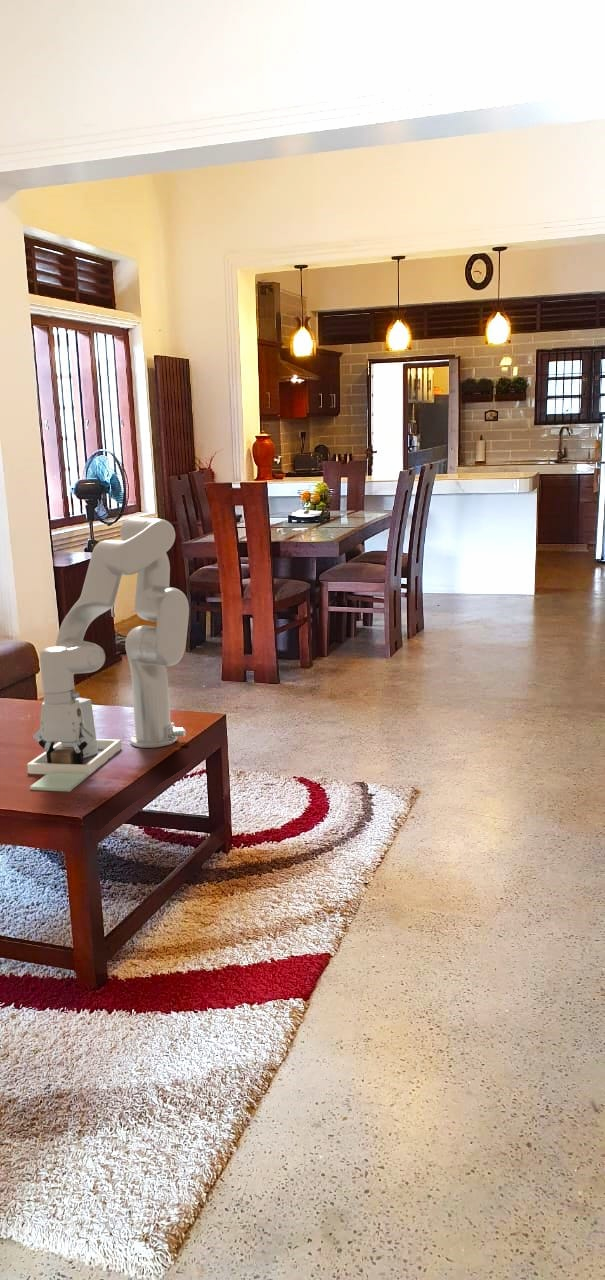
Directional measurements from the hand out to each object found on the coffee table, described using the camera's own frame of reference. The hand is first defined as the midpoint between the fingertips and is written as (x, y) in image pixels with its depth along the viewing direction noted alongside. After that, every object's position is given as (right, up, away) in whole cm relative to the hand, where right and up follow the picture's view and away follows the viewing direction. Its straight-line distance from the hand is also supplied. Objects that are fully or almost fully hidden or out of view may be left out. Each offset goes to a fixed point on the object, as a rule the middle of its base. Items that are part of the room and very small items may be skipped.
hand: (65, 765), depth 239 cm
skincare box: (+1, +1, +11) cm, 11 cm away
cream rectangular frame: (+1, 0, +6) cm, 6 cm away
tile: (+1, -3, -10) cm, 10 cm away
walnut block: (0, -1, 0) cm, 1 cm away
